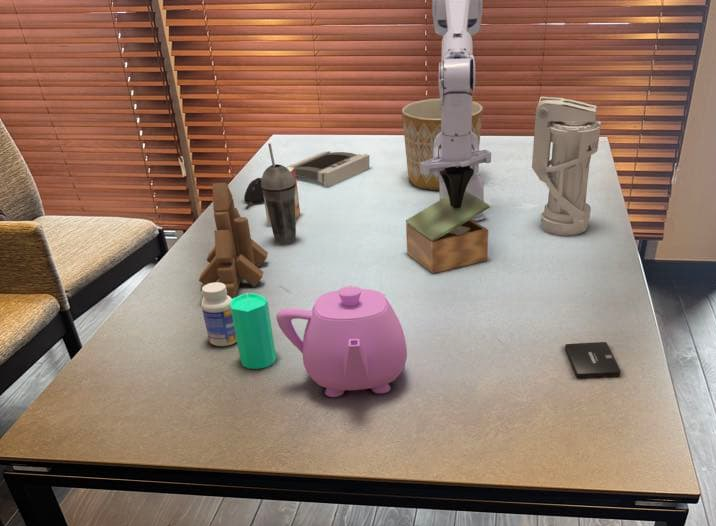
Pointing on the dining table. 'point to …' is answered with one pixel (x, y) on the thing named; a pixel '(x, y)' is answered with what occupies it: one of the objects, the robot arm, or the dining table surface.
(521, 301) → the dining table surface
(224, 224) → the wooden blocks
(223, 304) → the pill bottle
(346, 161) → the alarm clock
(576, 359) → the solid state drive
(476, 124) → the planter
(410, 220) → the lid
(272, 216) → the beverage cup
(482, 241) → the open wooden box
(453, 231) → the cube
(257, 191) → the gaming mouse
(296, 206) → the small box
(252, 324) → the candle
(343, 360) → the teapot
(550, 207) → the lantern
